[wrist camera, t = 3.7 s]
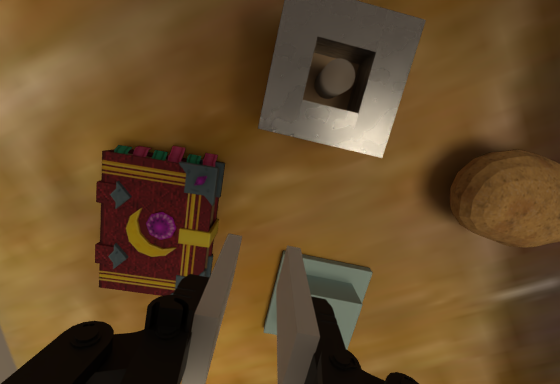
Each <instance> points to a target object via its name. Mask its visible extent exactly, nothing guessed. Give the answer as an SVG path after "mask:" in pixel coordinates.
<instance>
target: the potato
mask: <svg viewBox="0 0 560 384" xmlns="http://www.w3.org/2000/svg"><path fill="white" fill-rule="evenodd" d="M450 207H451V211H452V213H453V215H454V216H455V218H456V219H457V220H458V222H459V223H460V225H462V226H464V227H465V228H467V229H468V230H470V231H471V232H473V233H476V234H478V235H480V236H483V237H485V238H488V239H491V240H493V241H496V242H499V243H501V244H504V245H507V246H513V247H535V246H540V245H544V244H548V243H553V242H559V241H560V164H559V163H557V162H555V161H553V160H550V159H548V158H546V157H543V156H541V155H538V154H535V153H531V152H527V151H523V150H519V149H518V150H510V151H501V152H492V153H488V154H485V155H483V156H480V157H477V158H474V159H472V160H471V161H470V162H469V163H468V164H467V165H466V166H464V167H463V168H462V169H461V170H460V171H459V172H457V174H456V177H455V179H454V181H453V183H452V185H451V188H450Z"/></svg>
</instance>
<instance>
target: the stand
mask: <svg viewBox="0 0 560 384" xmlns="http://www.w3.org/2000/svg"><path fill="white" fill-rule="evenodd" d="M358 67H359V64H355V63H352V62H349V61H347V60H345V59H340V58H339V59H336V58H332V57H329V56H325V55H321V54H317V53H314V54H313V58H312V62H311V66H310V70H309V75H308V79H307V83H306V87H305V91H304V96H303V100H306V101H310V102H314V103H318V104H322V105H326V106H330V107H334V108H338V109H342V110H346V111H347V107H348V103H349V100H350V96H351V93H352V89H353V85H354V82H355V78H356V74H357V71H358Z"/></svg>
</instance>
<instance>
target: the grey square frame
mask: <svg viewBox="0 0 560 384" xmlns="http://www.w3.org/2000/svg"><path fill="white" fill-rule="evenodd" d="M425 21H426V20H424V19H420V18H417V17H413V16H410V15H406V14H402V13H399V12H395V11H392V10H388V9H385V8H381V7H378V6H374V5H370V4H367V3H363V2H360V1H356V0H285V1H284V6H283V11H282V16H281V20H280V25H279V30H278V35H277V40H276V44H275V49H274V54H273V59H272V64H271V68H270V73H269V78H268V83H267V88H266V92H265V97H264V102H263V107H262V112H261V116H260V121H259V126H258V129H263V130H267V131H271V132H275V133H279V134H284V135H288V136H292V137H296V138H301V139H305V140H309V141H313V142H317V143H322V144H326V145H330V146H334V147H338V148H343V149H347V150H351V151H355V152H360V153H364V154H368V155H372V156H376V157H381V158H382V157H383V153H384V150H385V147H386V144H387V141H388V138H389V134H390V131H391V128H392V125H393V122H394V119H395V115H396V112H397V109H398V106H399V103H400V100H401V96H402V93H403V90H404V87H405V84H406V81H407V78H408V74H409V71H410V68H411V65H412V62H413V59H414V55H415V52H416V49H417V46H418V43H419V40H420V36H421V33H422V30H423V27H424V24H425ZM314 53H317V54H321V55H325V56H329V57H332V58H336V59H339V58H340V59H345V60H347V61H349V62H352V63H355V64H359V67H358V71H357V74H356V78H355V82H354V85H353V89H352V93H351V96H350V100H349V103H348V107H347V111H346V110H342V109H338V108H334V107H330V106H326V105H322V104H318V103H314V102H310V101H306V100H303V96H304V91H305V87H306V83H307V79H308V75H309V70H310V66H311V62H312V58H313V54H314Z"/></svg>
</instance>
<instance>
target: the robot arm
mask: <svg viewBox="0 0 560 384" xmlns="http://www.w3.org/2000/svg"><path fill="white" fill-rule="evenodd" d="M241 240H242V236H238V235H233V234H228V236H227V238H226V241H225V243H224V245H223V248H222V250H221V252H220V255H219V257H218V260H217V262H216V264H215V267H214V269H213V271H212V274H211V276H210V278H209V277H204V276H199V275H194V274H189V275H188V276H186V277H185V278H183V279H182V280H181V281H180V283H179V285H178V286H177V288H176V290H175V291H174V293H173V295H165V296H161V297H158V298H156V299H155V300H153V301H152V302H151V303H150V304H149V305H148V307H147V315H146V322H145V329H144V330H141V331H138V332H134V333H126V334H113V333H114V330H113V329H112V327H111V326H110V325H109V324H107V323H105V322H100V321H89V322H83V323H80V324H77V325H75V326H72V327H71V328H69V329H68V330H66V331H64V332H63V333H62V334H61V335H59V336H58V337H57V338H56V339H55V340H53V341H52V342H51V343H50V344H49V345H47V346H46V347H45V348H44V349H42V350H41V351H40V352H39V353H38V354H36V355H35V356H34V357H33V358H32V359H30V360H29V361H28V362H27V363H25V364H24V365H23V366H22V367H21V368H19V369H18V370H17V371H16V372H15V373H13V374H12V375H11V376H10V377H9V378H7V379H6V380H5V381H4V382H2V383H1V384H180V383H181V380H182V384H205V383H206V379H207V375H208V371H209V368H210V364H211V360H212V356H213V353H214V349H215V345H216V341H217V338H218V334H219V330H220V326H221V323H222V319H223V315H224V311H225V308H226V304H227V300H228V296H229V293H230V289H231V285H232V281H233V277H234V272H235V268H236V263H237V258H238V254H239V249H240V244H241ZM276 307H277V366H278V384H419V383H418V382H416V381H415V380H414V379H413V378H411V377H409V376H407V375H405V374H402V373H398V372H395V373H390V374H389V375H388V376H387V378H386V380H385V381H384V380H382V379H379V378H377V377H375V376H373V375H371V374H369V373H367V372H365V371H363V370H362V369H361V366H360V364H359V362H358V360H357V359H356V357H355V356H354V355H353V354H352V353H351V352H349V351H348V350H346V347H345V344H344V341H343V338H342V335H341V332H340V329H339V326H338V325H337V320H336V317H335V314H334V311H333V308H332V306H331V305H330V304H329V303H328V301H327V300H326V299H323V298H317V297H312V296H311V294H310V289H309V285H308V280H307V276H306V271H305V267H304V262H303V258H302V253H301V249H300V248H296V247H292V246H287V248H286V252H285V256H284V260H283V264H282V268H281V272H280V276H279V279H278V283H277V287H276ZM182 377H183V378H182Z"/></svg>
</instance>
